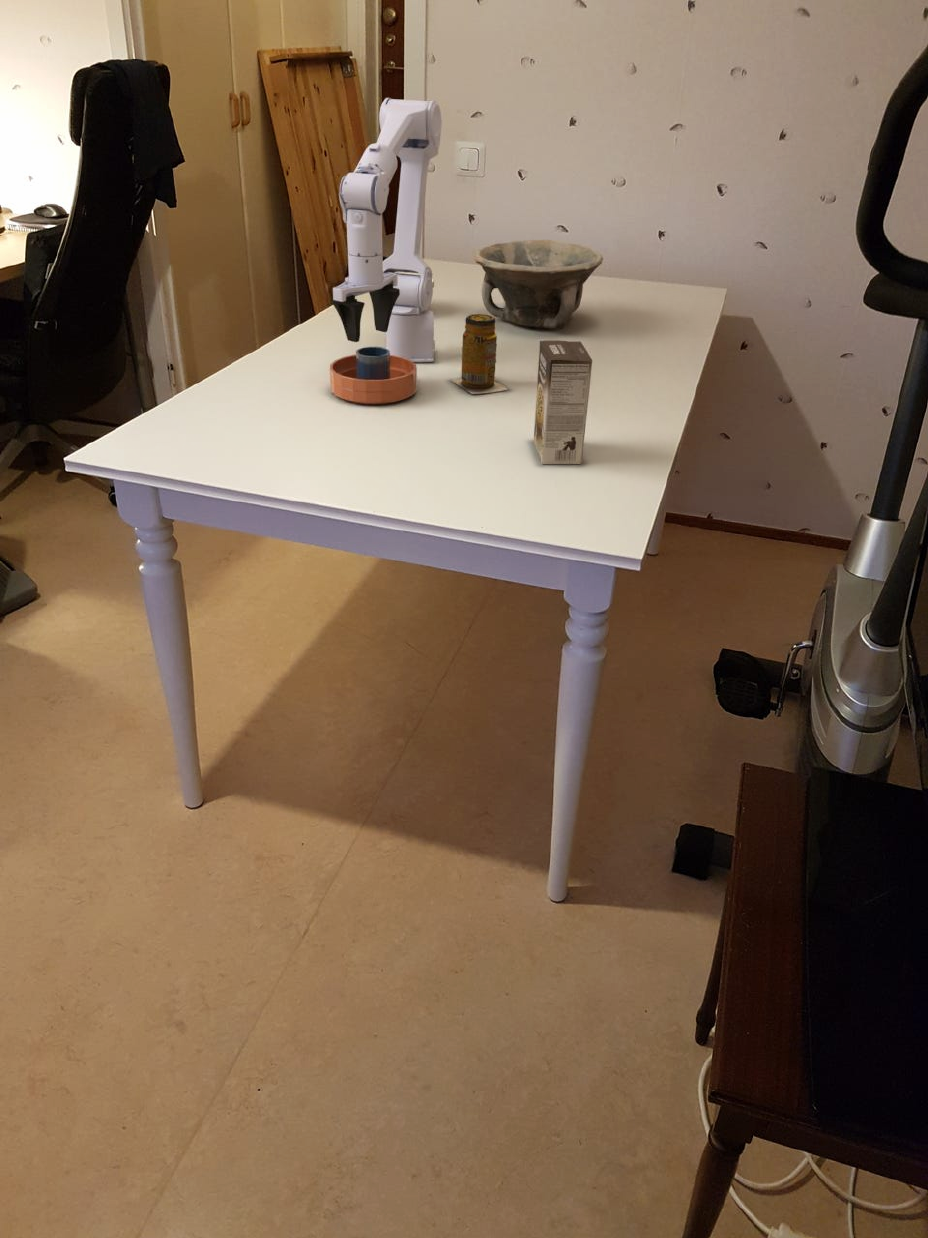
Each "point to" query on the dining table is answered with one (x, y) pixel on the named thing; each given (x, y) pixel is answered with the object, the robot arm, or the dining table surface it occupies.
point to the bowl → (536, 280)
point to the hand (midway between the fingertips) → (367, 335)
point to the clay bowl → (373, 381)
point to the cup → (373, 363)
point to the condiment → (479, 355)
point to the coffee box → (561, 401)
